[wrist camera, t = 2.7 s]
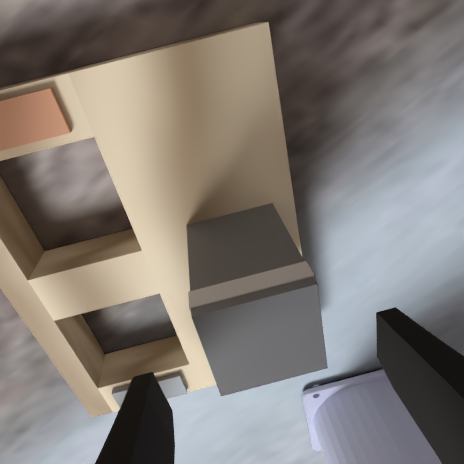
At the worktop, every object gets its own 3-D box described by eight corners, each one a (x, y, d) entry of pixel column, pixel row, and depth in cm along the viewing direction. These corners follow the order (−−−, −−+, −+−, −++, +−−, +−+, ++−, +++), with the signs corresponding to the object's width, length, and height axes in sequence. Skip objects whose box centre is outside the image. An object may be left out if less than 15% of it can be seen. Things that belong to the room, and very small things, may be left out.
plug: (273, 201, 16) (318, 282, 11) (285, 272, 18) (328, 368, 13) (185, 224, 16) (189, 316, 11) (207, 292, 18) (220, 397, 13)
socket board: (255, 23, 15) (270, 22, 13) (304, 328, 24) (318, 362, 22) (-76, 107, 15) (-125, 122, 12) (99, 382, 24) (90, 422, 22)
